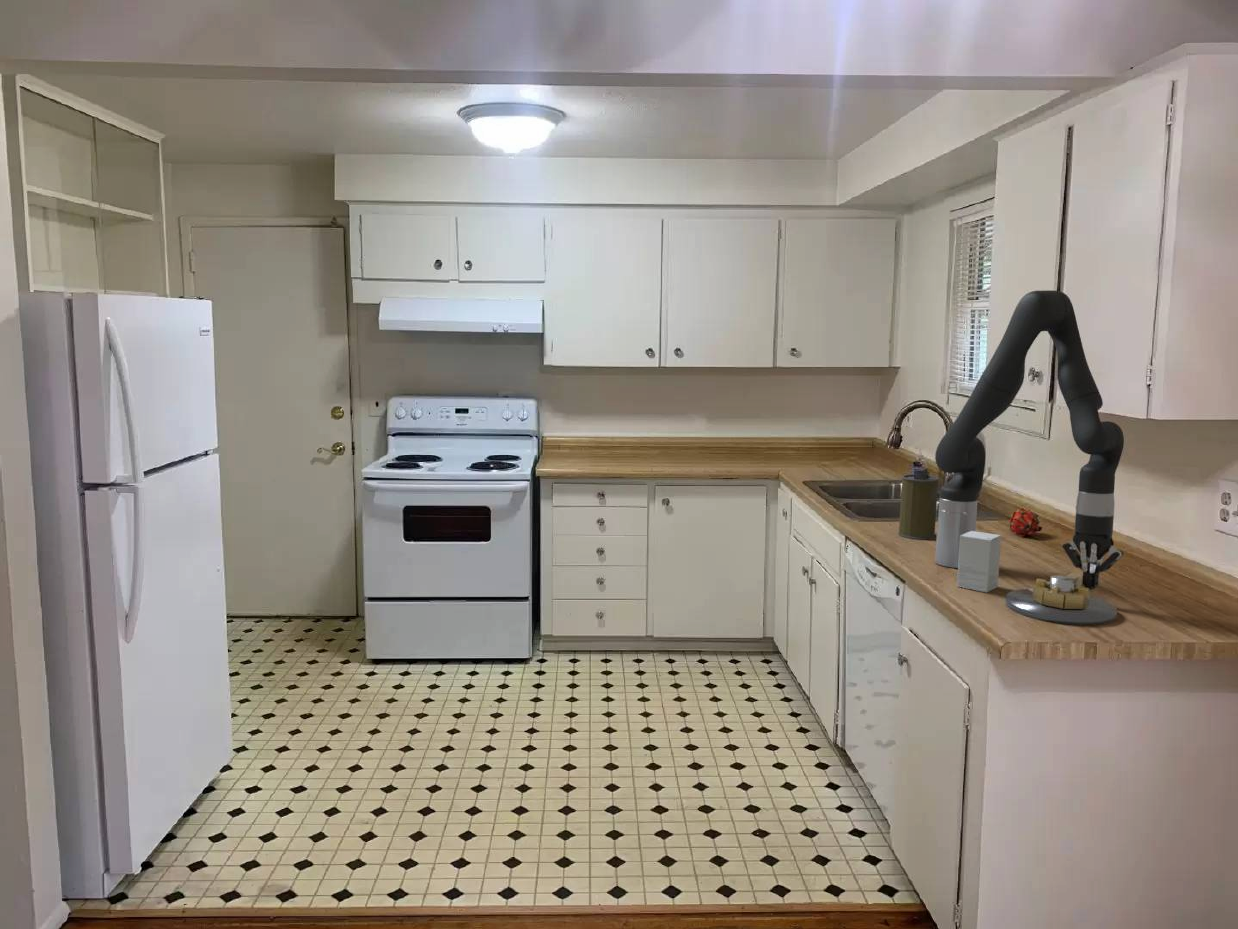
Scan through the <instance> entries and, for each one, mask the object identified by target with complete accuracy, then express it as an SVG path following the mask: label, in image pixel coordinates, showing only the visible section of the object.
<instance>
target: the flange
mask: <svg viewBox="0 0 1238 929" xmlns="http://www.w3.org/2000/svg"><path fill="white" fill-rule="evenodd" d="M1049 581H1050V588H1049V590H1051V589H1052V587H1054V586H1055V587H1060V592H1063V593H1074V583H1075V579H1073V578H1071V577H1067V575H1051V576H1050V580H1049ZM1032 596H1033V587H1032V588H1021V589H1016V590H1012V591H1009V592H1008V593H1006V595H1005V606H1006V607H1007V608H1008V607H1009V608H1008V609H1010V610H1011V611H1012V612H1015V613H1017V614H1019V615H1021V616H1025V617H1028V618H1032V619H1035V620H1038V621H1042V622H1043V621H1044V622H1047V623H1048V622H1049V623H1054V624H1059V625H1061V624H1062V625H1069V626H1070V625H1071V626H1100V625H1101V626H1102V625H1107V624H1111V623H1113V622H1115V621H1116V620H1117V618H1118V617H1117V615H1118V609H1117V607H1116V606H1115V605H1113V604H1112V603H1110V602H1108V601H1106V600H1104V599H1101V598H1098V597H1094V596H1092V595H1090V602H1089V605H1088V606H1087V607H1085V608H1083V609H1064V608H1063V609H1062V608H1057V607H1052V606H1047V605H1043V604H1040V603H1039V602H1037V601H1035V600H1034V599H1032Z"/></svg>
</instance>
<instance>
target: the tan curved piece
mask: <svg viewBox="0 0 1238 929" xmlns="http://www.w3.org/2000/svg"><path fill="white" fill-rule="evenodd" d="M1066 576H1067V577H1071V578H1073V579H1075V583H1074V593H1063V592H1060V587H1055V586H1054V587H1052V589H1051V590H1049V588H1050V580H1049V581H1047V579H1044V578H1043V579H1042V578H1036V580H1035V584H1033V586H1032V588H1033V596H1032V599H1034V600H1035V601H1037V602H1039V603H1040V604H1043V605H1047V606H1052V607H1057V608H1062V609H1063V608H1064V609H1083V608H1085V607H1087V606H1088V605H1089V602H1090V596H1091V591H1092V590H1091V589H1089V588H1087V587H1085V586H1082V585H1083V573H1078V572H1073V571H1072V572H1070V573H1069V574H1067V575H1066Z"/></svg>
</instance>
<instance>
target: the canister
mask: <svg viewBox="0 0 1238 929" xmlns="http://www.w3.org/2000/svg"><path fill="white" fill-rule="evenodd" d="M913 472H914V473H912V474H903V475H901V479H902V480H901V494H900V495H901V497H900V508H899V509H900V510H899V523H898V524H899V525H898V532H897V535H898V536H900V537H903V538H906V539H912V540H932V539H934V538H935V537H936V535H935V532H936V522H937V519H936V518H937V504H938V492H939V491H938V490H939V481H940V478H939V477H937V476H933V475H930V472H929V471H928V468H926V467H916V468H914V471H913Z"/></svg>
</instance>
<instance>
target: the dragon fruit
mask: <svg viewBox="0 0 1238 929" xmlns="http://www.w3.org/2000/svg"><path fill="white" fill-rule="evenodd" d="M1038 516H1039V515H1038V514H1037V513H1035V512H1032V511H1031V509H1025V508H1019V509H1017V510H1016V511H1014V512H1012V513H1011V514H1010V516H1009V517H1010V519H1009V523H1008V525H1009V531H1010V532H1011V533H1014V534H1015V535H1016V536H1017V537H1021V538H1024V537H1025V536H1026V535H1027V536H1030V537H1031V536H1034V535H1035V534H1036V532H1037V533H1038V532H1041V531H1042V530H1043V527H1042V526H1039V525H1040V523H1041V522H1040V520H1039V518H1038Z"/></svg>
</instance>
